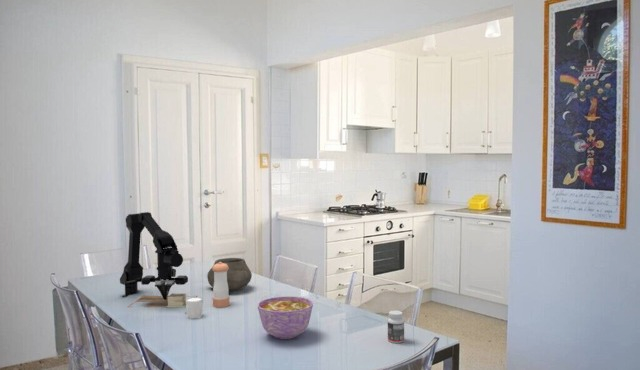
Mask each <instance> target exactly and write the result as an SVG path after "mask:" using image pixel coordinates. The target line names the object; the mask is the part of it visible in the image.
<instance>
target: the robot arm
mask: <svg viewBox="0 0 640 370" xmlns="http://www.w3.org/2000/svg"><path fill="white" fill-rule="evenodd" d="M125 227H126V228H127V230H128V232H129V236H128V237H129V238H128V239H129V240H128V253H127V254H128V255H127V256H128V257H127V262H126V264H125V265H124V267H123V272H122V274H121V276H120V278H119V284H121V285H123V286H124V294H123V295H121V298H127V297H129V296H130V295H134V294H137V293H138V292H139V290H138V287H139V286H138V285H139V284H138V283H141V285H143V286H144V285H147V286H148V285H149V284H150V283H154V287H156V288H157V290H158V291H159V292H160V294H161V295H160V296H162V297H163V299H164V300H166V299H167V297H168V296H169V292H170V290H171V288H172V286H174V285H175V284H176V285H177V286H178V285H179V286H181V285H182V286H183V285H185V284H187V283H188V281H189V278H188V276H187V275H178V276H177V269H176V268H178V267H180V266H182V264H183V262H184V257H183V256H182V254H181V253H179V250H178V245H177V244H176V242H175V240H174V237H173V235H171V234H170V233H169V232H168V231H166V230H163V229H162V228H161V226H160V225H159V224H158V223H157V221H156V220H155V219H154V217H153V215H152V213H151V212H149V211H146V212H145V211H144V212H138V213H128V214H127V215H126V217H125ZM144 229H146V230H147V232H148V233H149V235H151V236H152V244H153V246H154V247H155V251H154V253H155V254H157V255H156V257H157V267H156V271H157V276H156V275H145V276H144V277H143V275H144V267H143V266H142V265H141V263H140V253H141V252H140V251H141V235H142V232H143V230H144Z"/></svg>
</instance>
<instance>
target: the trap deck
mask: <svg viewBox="0 0 640 370" xmlns="http://www.w3.org/2000/svg"><path fill="white" fill-rule="evenodd" d="M194 298H198V295H195V296H194ZM137 302H139V303H140V302H142V303H143V302H148V303H149V302H150V303H149V304H147V305H146V306H145V308H186V303H185V304H184V305H183V306H168V297H167V299H166V300H164V299H163V297H162V295H142V296H141V297H139V298H138V299H136V300H135V301H134V302H132V303H131V304H129V305H127V308H130V307H131V306H132V305H133V304H135V303H137Z"/></svg>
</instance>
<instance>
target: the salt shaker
mask: <svg viewBox="0 0 640 370" xmlns="http://www.w3.org/2000/svg"><path fill="white" fill-rule="evenodd" d="M211 268H212V270H213V271H214V287H212V291H213V292H212V293H213V295H212V296H213V297H212V307H213V308H227V307H229V306H230V299H231V298H230V296H229V292H230V291H229V289H228V283H227V271H228V265H227V264H224V263H222V262H219V263H218V264H215V265H214V264H213V265H212V266H211Z"/></svg>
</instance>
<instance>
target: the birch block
mask: <svg viewBox="0 0 640 370" xmlns="http://www.w3.org/2000/svg"><path fill="white" fill-rule="evenodd" d="M186 299H187V293H186V292H185V293H184V292H182V293H179V292H178V293H175V292H174V293H171V294H170V295H168V306H183V305H184V304H185V303H186Z"/></svg>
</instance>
